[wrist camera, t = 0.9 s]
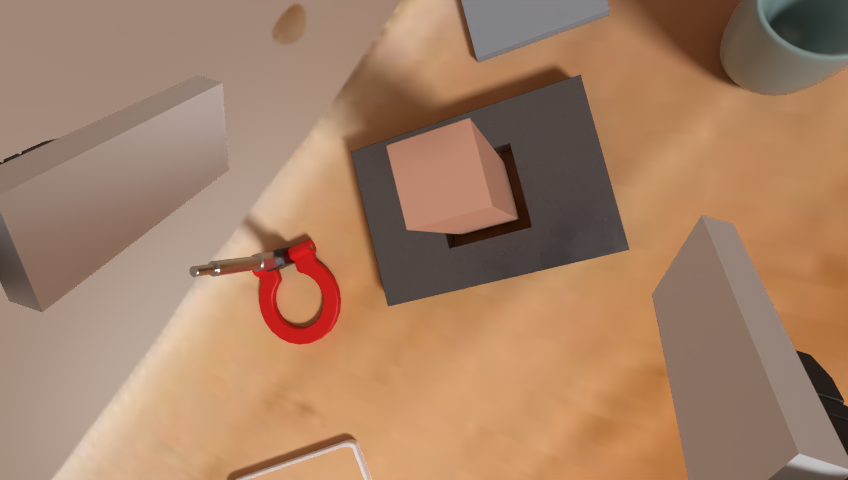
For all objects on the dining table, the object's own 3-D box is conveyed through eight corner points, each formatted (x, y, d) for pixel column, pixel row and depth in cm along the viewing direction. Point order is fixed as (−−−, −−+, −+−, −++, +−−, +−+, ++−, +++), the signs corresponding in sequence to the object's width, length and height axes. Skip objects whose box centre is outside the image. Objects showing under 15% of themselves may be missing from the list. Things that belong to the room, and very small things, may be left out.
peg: (504, 163, 42) (469, 117, 27) (519, 219, 42) (492, 206, 26) (449, 179, 43) (386, 145, 28) (463, 234, 43) (406, 229, 28)
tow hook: (355, 325, 46) (321, 234, 47) (280, 364, 34) (235, 240, 34) (282, 352, 49) (251, 265, 49) (187, 398, 36) (146, 281, 37)
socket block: (579, 84, 40) (580, 74, 38) (625, 249, 39) (629, 249, 37) (362, 156, 46) (351, 151, 43) (397, 302, 45) (388, 306, 42)
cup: (753, -16, 37) (819, -107, 27) (853, 36, 35) (961, -42, 26) (685, 73, 38) (725, 16, 29) (778, 127, 36) (854, 85, 27)
